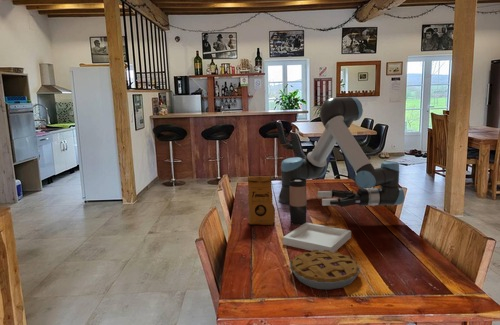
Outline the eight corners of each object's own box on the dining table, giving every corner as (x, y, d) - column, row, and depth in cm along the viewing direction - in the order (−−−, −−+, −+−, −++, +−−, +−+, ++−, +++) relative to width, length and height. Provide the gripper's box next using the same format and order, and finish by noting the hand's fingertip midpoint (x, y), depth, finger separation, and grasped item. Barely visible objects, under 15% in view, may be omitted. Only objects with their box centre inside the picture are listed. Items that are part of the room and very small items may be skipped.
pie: (314, 299, 106) (314, 283, 105) (278, 268, 126) (277, 254, 125) (374, 282, 115) (375, 267, 114) (332, 256, 134) (332, 243, 134)
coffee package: (274, 227, 166) (273, 178, 162) (246, 226, 168) (245, 178, 164) (276, 220, 175) (275, 174, 172) (250, 219, 178) (248, 174, 174)
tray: (282, 244, 146) (282, 237, 146) (306, 229, 162) (306, 222, 162) (331, 255, 135) (331, 247, 134) (351, 237, 151) (351, 230, 150)
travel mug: (308, 220, 173) (307, 178, 170) (305, 225, 166) (304, 182, 163) (291, 219, 176) (291, 177, 172) (288, 224, 169) (287, 181, 165)
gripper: (375, 213, 156) (324, 214, 157) (360, 197, 181) (316, 199, 181) (375, 196, 155) (324, 197, 156) (360, 182, 179) (315, 183, 180)
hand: (319, 198), depth 169 cm, fingers open, 13 cm apart
